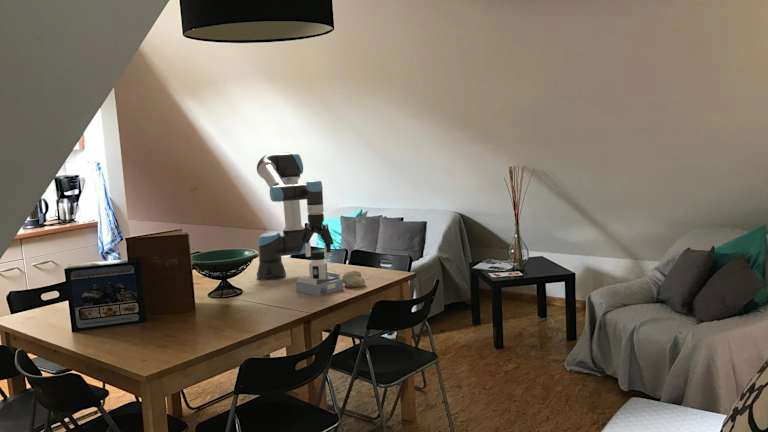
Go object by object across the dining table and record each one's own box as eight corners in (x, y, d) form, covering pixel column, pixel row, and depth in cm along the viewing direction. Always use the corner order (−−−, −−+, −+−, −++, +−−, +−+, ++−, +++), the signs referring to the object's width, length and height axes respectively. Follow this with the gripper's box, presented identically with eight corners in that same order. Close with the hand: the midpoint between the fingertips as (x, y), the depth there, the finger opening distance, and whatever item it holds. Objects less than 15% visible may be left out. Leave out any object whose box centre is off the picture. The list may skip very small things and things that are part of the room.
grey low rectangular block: (295, 291, 321) (295, 276, 320) (320, 284, 333) (319, 270, 332) (320, 296, 310) (319, 280, 309) (344, 289, 321) (344, 274, 320)
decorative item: (334, 279, 325) (343, 267, 332) (341, 294, 328) (350, 281, 336) (355, 278, 319) (364, 266, 326) (362, 293, 322) (370, 280, 330)
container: (326, 279, 317) (324, 252, 315) (309, 280, 317) (308, 253, 315) (327, 276, 325) (326, 249, 323) (311, 276, 325) (310, 250, 323)
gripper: (292, 212, 322) (294, 256, 325) (328, 216, 306) (330, 261, 308) (304, 211, 328) (306, 253, 331) (339, 214, 311) (342, 259, 314)
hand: (317, 257), depth 319 cm, fingers open, 13 cm apart
